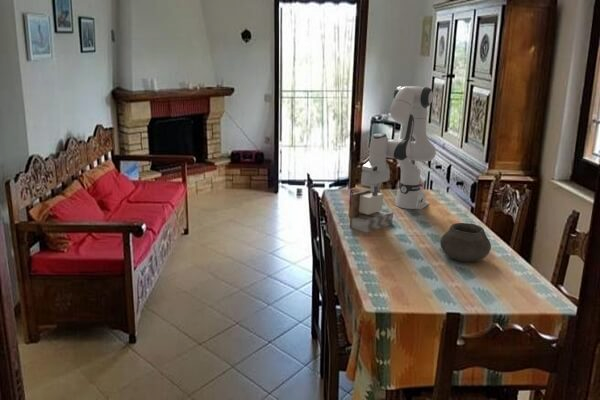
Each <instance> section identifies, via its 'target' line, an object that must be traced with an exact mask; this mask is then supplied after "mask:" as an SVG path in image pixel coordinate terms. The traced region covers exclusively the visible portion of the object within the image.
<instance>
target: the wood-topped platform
mask: <svg viewBox="0 0 600 400" xmlns="http://www.w3.org/2000/svg"><path fill="white" fill-rule="evenodd" d="M380 190H381V187H380V188H379V191H378V193H381V191H380ZM367 193H371V188H369V189H365V190H364V191H361V192H357V193H353V194H352V198H351V213H350V215H349V227H350V228H352V229H355V230H358V231H360V232H364V233H366V234H367V233H370V232H373V231H376V230H379V229H382V228H384V227H387V226H390V225H392V224H393V219H394V212H393V211H391V212H384V211H383V210H381V211H378V212H375V213H372V214H369V215H368V214H364V213H361V212H359V204H360V195H363V194H367Z"/></svg>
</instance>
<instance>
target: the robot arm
mask: <svg viewBox="0 0 600 400" xmlns="http://www.w3.org/2000/svg"><path fill="white" fill-rule="evenodd" d="M433 100H434V91H433V90H432V88H430V87H426V86H425V87H424V86H419V85H406V86H405V85H400V86H397V87H396V88H395V90H394V91H393V100H392V103H391V105H390V108H389V113H390V117H391V118H392V120H393V121H395V122H396V123H397V124H399V125H402V126H403V131H402V138H400V139H392V138H388V135H387V133H382V132H378V133H374V134H373V135H371V139H370V144H369V156H368V161H367V162H366V163H364V164H363V165H362V166H361V170H362V171H361V176H360V177H361V179H360V183H361V185H362V186H365V187H370V188H369V189H371V192H375V189H374V186H378V191H379V188H380V189H381V186H382V183H385V182H388V181H390V178H391V177H390V176H391V175H390V174H391V169H390V165H389V164H388V163H387V158H389V159H395V160H396V161H397V163H398V164H399V168H400V181H399V184H398V185H399V186H398V188H399V189H397V191H396V198H395V200H394V202H393V203H394V204H395V206H397V207H398V208H402V209H407V210H422V209H424V208H425V207H428V206H429V205H430V202H429V201H427V200H426V199H427V196H426V194H425V192H423V190H421V188H422V187H423V186H424V183H423V182H422V183H421V182H420V180H421V170H420V169H419V168H418V166H416V165H414V164H413V162H412V161H417V162H430V161H433V159H434V158H435V157H436V154H437V150H436V147H435V145H434V144H433V143H432V142H431V141H430V139H429V138H428V136H427V128H426V127H427V116H428V107H430V105H432V103H433V102H434V101H433ZM412 137H413V138H414V141H412Z"/></svg>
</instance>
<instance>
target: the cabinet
mask: <svg viewBox="0 0 600 400" xmlns="http://www.w3.org/2000/svg"><path fill="white" fill-rule="evenodd" d="M374 189H375V192H371V193H367V194H363V195H360V204H359V212H361V213H364V214H368V215H369V214H372V213H375V212H378V211H383V201H384V193H382V192H380V193H378V186H376V185H374Z"/></svg>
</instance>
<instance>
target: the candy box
mask: <svg viewBox="0 0 600 400" xmlns="http://www.w3.org/2000/svg"><path fill="white" fill-rule="evenodd" d="M361 191H364V190H363V189H361V188H357V187H350V190H349V201H348V215H349V216H350V213H351V198H352V194H353V193H357V192H361Z"/></svg>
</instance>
